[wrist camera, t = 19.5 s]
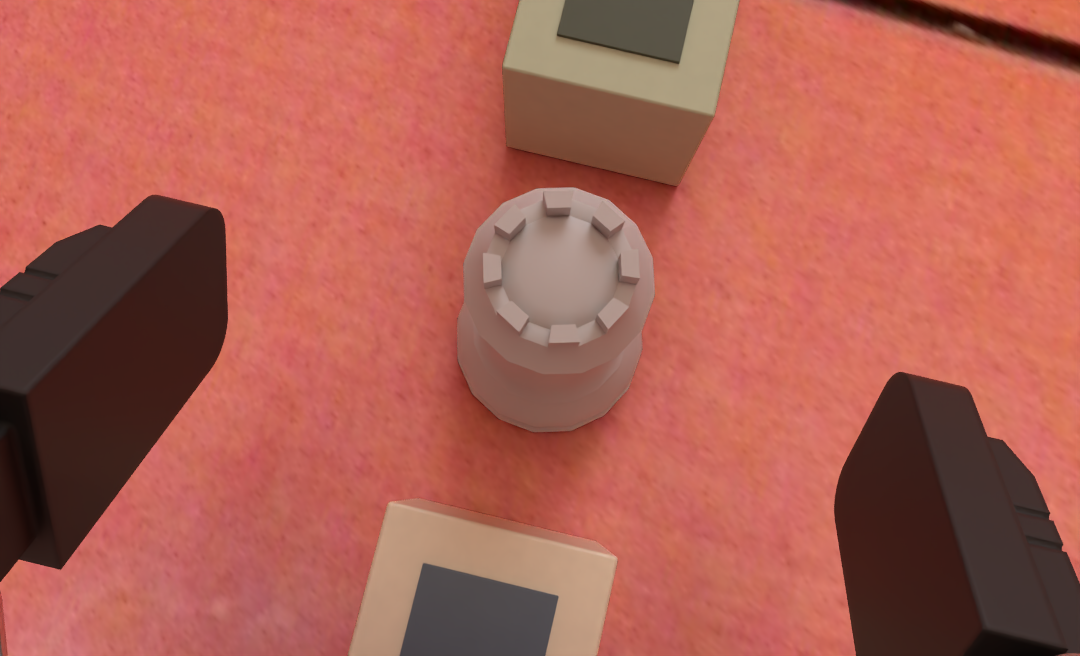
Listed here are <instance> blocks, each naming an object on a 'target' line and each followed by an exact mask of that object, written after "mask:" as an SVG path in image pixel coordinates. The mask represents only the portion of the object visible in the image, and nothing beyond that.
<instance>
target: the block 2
mask: <svg viewBox="0 0 1080 656" xmlns="http://www.w3.org/2000/svg"><path fill="white" fill-rule="evenodd" d="M739 2H740V0H519V3H518V7H517V11H516V15H515V19H514V22H513V26H512V30H511V34H510V38H509V41H508V45H507V49H506V53H505V57H504V60H503V64H502V75H503V94H504V113H505V132H506V146H508V147H511V148H515V149H520V150H524V151H528V152H532V153H537V154H541V155H545V156H549V157H554V158H558V159H562V160H567V161H571V162H575V163H579V164H584V165H588V166H592V167H596V168H601V169H605V170H609V171H614V172H618V173H622V174H626V175H631V176H635V177H639V178H644V179H648V180H652V181H656V182H661V183H665V184H669V185H673V186H678V185H679V183H680V181H681V180H682V178H683V176H684V174H685V172H686V170H687V168H688V166H689V164H690V162H691V160H692V158H693V156H694V154H695V152H696V151H697V149H698V147H699V145H700V143H701V141H702V139H703V137H704V135H705V133H706V131H707V129H708V127H709V125H710V123H711V122H712V120H713V118H714V116H715V112H716V107H717V103H718V98H719V93H720V89H721V84H722V80H723V75H724V70H725V66H726V61H727V57H728V52H729V47H730V43H731V38H732V34H733V29H734V24H735V20H736V15H737V11H738V6H739Z"/></svg>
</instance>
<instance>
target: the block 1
mask: <svg viewBox="0 0 1080 656" xmlns="http://www.w3.org/2000/svg"><path fill="white" fill-rule="evenodd" d="M617 563H618V559H617V557H616V556H615V555H613V554H612V553H611V552H610V551H608V550H607V549H606V548H605V547H603V546H602V545H601V544H600V543H598V542H597V541H594V540H589V539H585V538H581V537H577V536H573V535H569V534H565V533H561V532H557V531H553V530H548V529H544V528H540V527H536V526H532V525H528V524H524V523H520V522H516V521H511V520H507V519H503V518H499V517H495V516H491V515H487V514H483V513H479V512H474V511H470V510H466V509H462V508H458V507H454V506H450V505H446V504H442V503H437V502H433V501H429V500H425V499H421V498H414V499H407V500H399V501H392V502H389V503H388V504H387V507H386V511H385V515H384V518H383V522H382V526H381V530H380V534H379V537H378V541H377V545H376V549H375V553H374V556H373V560H372V564H371V568H370V572H369V575H368V579H367V583H366V587H365V591H364V594H363V598H362V602H361V606H360V610H359V613H358V617H357V621H356V625H355V629H354V632H353V636H352V640H351V644H350V648H349V651H348V655H347V656H597V655H598V650H599V645H600V641H601V636H602V632H603V627H604V622H605V618H606V613H607V609H608V604H609V599H610V595H611V590H612V586H613V581H614V576H615V572H616V567H617Z"/></svg>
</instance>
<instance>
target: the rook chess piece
mask: <svg viewBox="0 0 1080 656" xmlns="http://www.w3.org/2000/svg"><path fill="white" fill-rule="evenodd" d="M463 273H464V303H463V305H462V308H461V310H460V313H459V316H458V318H457V353H458V363H459V365H460V367H461V369H462V372H463V374H464V376H465V379H466V381H467V383H468V385H469V388H470V390H471V392H472V394H473V395H474V396H475V397H476V398H477V399H478V400H479V401H480V402H481V403H482V404H483V405H485V406H486V407H487V408H488V409H489V410H490V411H491V412H492V413H493V414H494V415H495V416H496V417H497V418H498V419H500V420H503V421H505V422H508V423H510V424H513V425H516V426H518V427H521V428H524V429H526V430H529V431H532V432H556V431H572V430H574V429H576V428H578V427H580V426H583V425H585V424H587V423H589V422H591V421H593V420H596V419H598V418H600V417H602V416H604V415H605V414H606V413H607V412H608V411H609V410H610V409H611V407H612V406H613V405H614V404H615V403H616V402H617V401H618V400H619V399H620V398H621V397H622V396H623V394H624V393H625V392H626V391H627V390H628V389H629V386H630V384H631V381H632V378H633V375H634V372H635V370H636V367H637V364H638V361H639V358H640V356H641V352H642V329H643V327H644V324H645V321H646V318H647V316H648V313H649V310H650V307H651V304H652V302H653V299H654V296H655V286H654V269H653V257H652V255H651V253H650V251H649V249H648V247H647V245H646V243H645V241H644V239H643V237H642V235H641V233H640V231H639V228H638V226H637V225H636V224H635V223H634V222H633V221H632V220H631V219H630V218H629V217H627V216H626V215H625V214H624V213H623V212H622V211H621V210H620V209H619V208H617V207H616V206H615V205H614V204H613V203H612V202H611V201H610V200H608V199H605V198H602V197H599V196H597V195H594V194H591V193H588V192H586V191H583V190H580V189H577V188H575V187H567V188H537V189H534V190H532V191H530V192H527V193H525V194H523V195H520V196H518V197H516V198H513V199H511V200H509V201H506V202H504V203H502V204H501V205H500V206H499V207H498V208H497V209H496V210H495V211H494V213H493V214H492V215H491V216H490V217H489V218H488V219H487V220H486V221H485V222H484V223H483V224H482V225H481V226H480V227H479V228H478V229H477V231H476V233H475V236H474V238H473V241H472V243H471V246H470V248H469V251H468V253H467V256H466V258H465V261H464V263H463Z"/></svg>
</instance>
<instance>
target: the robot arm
mask: <svg viewBox="0 0 1080 656" xmlns="http://www.w3.org/2000/svg"><path fill="white" fill-rule="evenodd" d="M227 321H228V305H227V270H226V234H225V223H224V218H223V216H222V214H221V212H220V211H219V210H218V209H215V208H211V207H207V206H202V205H198V204H194V203H190V202H185V201H181V200H177V199H173V198H168V197H164V196H160V195H151V196H149V197H147V198H146V199H144V200H143V201H142V202H141V203H140V204H139V205H138V206H136V207H135V208H134V209H133V210H132V211H131V212H130V213H129V214H127V215H126V216H125V217H124V218H123V219H122V220H121V221H119V222H118V223H117V224H116V225H115V226H114V227H113V228H111V227H107V226H103V225H97V226H95V227H93V228H90V229H88V230H85V231H83V232H80V233H78V234H75V235H73V236H70V237H68V238H65V239H63V240H60V241H58V242H56V243H54V244H53V245H52V246H51V247H50V248H48V249H47V250H46V251H45V252H44V253H42V254H41V255H40V256H39V257H38V258H36V259H35V260H34V261H33V262H31V263H30V264H29V265H28V266H27V267H26V270H25V272H24V273H20V272H19V273H18V274H17V275H16V276H14V277H13V278H12V279H11V280H10V281H8V282H7V283H6V284H5V285H4V286H2V287H1V288H0V582H1V581H2V579H3V578H4V577H5V576H6V574H7V573H8V572H9V571H10V569H11V568H12V567H13V566H14V564H15V563H16V562H17V561H18V559H19V560H23V561H28V562H32V563H36V564H40V565H44V566H48V567H52V568H56V569H60V570H61V569H62V567H63V566H64V565H65V563H66V562H67V561H68V559H69V558H70V557H71V555H72V554H73V553H74V551H75V550H76V549H77V547H78V546H79V545H80V543H81V542H82V541H83V539H84V538H85V537H86V535H87V534H88V533H89V531H90V530H91V529H92V527H93V526H94V525H95V523H96V522H97V521H98V519H99V518H100V517H101V515H102V514H103V513H104V511H105V510H106V509H107V507H108V506H109V505H110V503H111V502H112V501H113V499H114V498H115V497H116V495H117V494H118V493H119V491H120V490H121V489H122V487H123V486H124V485H125V483H126V482H127V481H128V479H129V478H130V477H131V475H132V474H133V473H134V471H135V470H136V468H137V467H138V466H139V464H140V463H141V462H142V460H143V459H144V458H145V456H146V455H147V454H148V452H149V451H150V450H151V448H152V447H153V446H154V444H155V443H156V442H157V440H158V439H159V438H160V436H161V435H162V434H163V432H164V431H165V430H166V428H167V427H168V426H169V424H170V423H171V422H172V420H173V419H174V418H175V416H176V415H177V414H178V412H179V411H180V410H181V408H182V407H183V406H184V404H185V403H186V402H187V400H188V399H189V398H190V396H191V395H192V394H193V392H194V391H195V390H196V388H197V387H198V386H199V384H200V383H201V382H202V380H203V379H204V378H205V376H206V375H207V374H208V372H209V371H210V369H211V368H212V367H213V365H214V364H215V362H216V360H217V358H218V356H219V353H220V351H221V348H222V345H223V342H224V339H225V334H226V329H227ZM834 515H835V523H836V529H837V536H838V542H839V549H840V555H841V561H842V568H843V574H844V581H845V587H846V593H847V600H848V606H849V612H850V619H851V625H852V632H853V638H854V644H855V651H856V656H1080V583H1079V581H1078V578H1077V576H1076V573H1075V571H1074V569H1073V566H1072V564H1071V562H1070V559H1069V557H1068V555H1067V552H1063V551H1062V545H1063V543H1062V540H1061V538H1060V536H1059V533H1058V531H1057V529H1056V526H1055V524H1054V522H1053V521H1051V520H1049V515H1050V512H1049V510H1048V507H1047V505H1046V503H1045V500H1044V498H1043V496H1042V493H1041V491H1040V489H1039V486H1038V484H1037V481H1036V479H1035V477H1034V475H1033V474H1032V473H1031V472H1030V471H1029V470H1028V469H1027V467H1026V466H1025V465H1024V464H1023V463H1022V462H1021V461H1020V459H1019V458H1018V457H1017V456H1016V455H1015V454H1014V453H1013V451H1012V450H1011V449H1010V448H1009V447H1008V446H1007V445H1006V443H1005V442H1004V441H1003V440H999V439H995V438H991V437H987V434H986V432H985V429H984V427H983V424H982V421H981V419H980V416H979V413H978V411H977V408H976V406H975V403H974V400H973V398H972V395H971V393H970V392H969V390H968V389H967V388H965V387H963V386H959V385H955V384H950V383H946V382H942V381H938V380H933V379H929V378H925V377H921V376H916V375H912V374H908V373H904V372H898V373H896V374H894V375H893V376H892V377H891V378H890V379H889V381H888V382H887V384H886V385H885V387H884V389H883V391H882V393H881V395H880V396H879V398H878V400H877V402H876V404H875V406H874V408H873V410H872V412H871V414H870V416H869V418H868V420H867V422H866V423H865V425H864V427H863V429H862V431H861V433H860V435H859V437H858V439H857V441H856V443H855V445H854V447H853V448H852V450H851V452H850V454H849V456H848V458H847V460H846V462H845V464H844V466H843V468H842V471H841V474H840V477H839V480H838V484H837V489H836V494H835V504H834ZM0 656H8V652H7V642H6V632H5V622H4V612H3V602H2V596H1V592H0Z"/></svg>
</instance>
